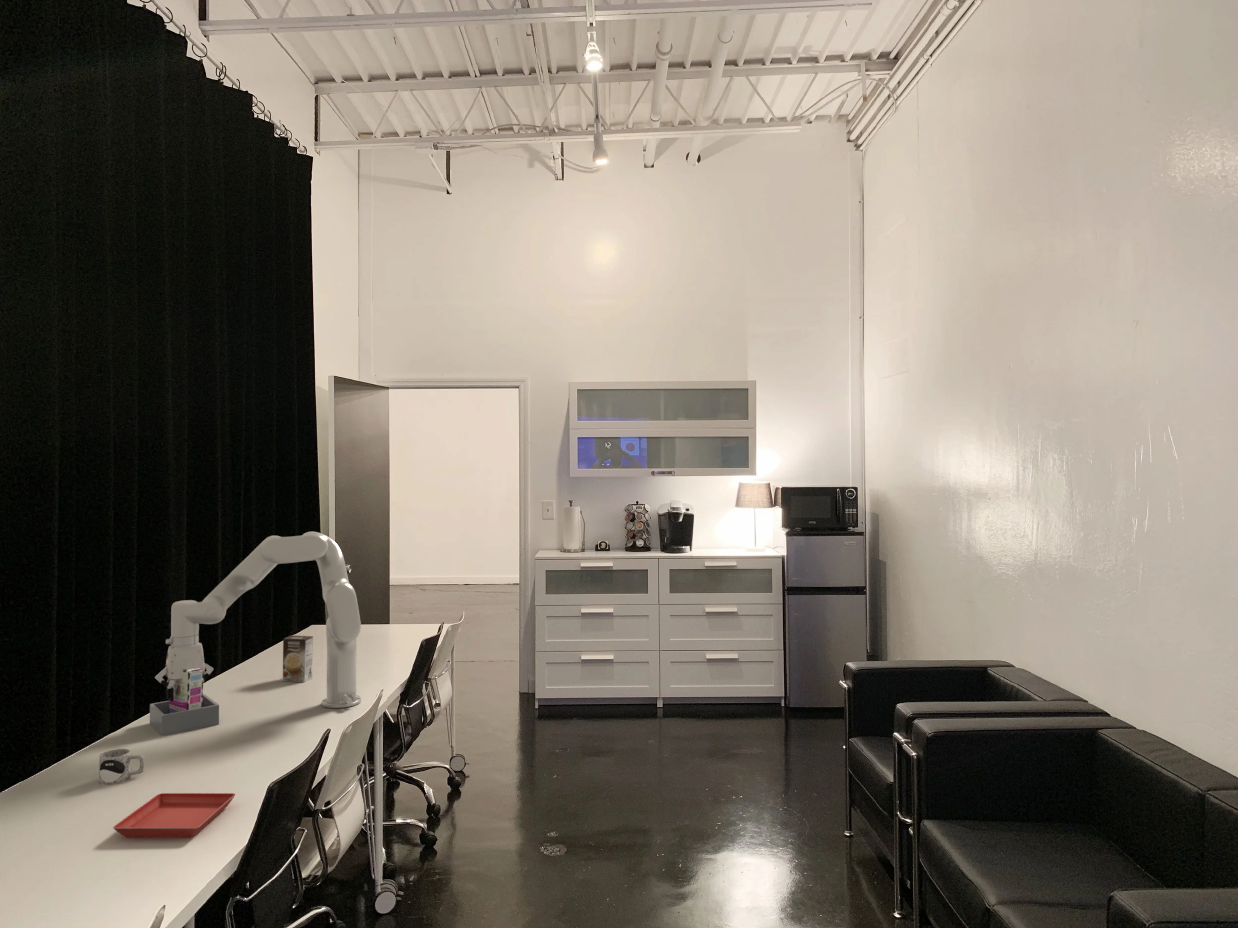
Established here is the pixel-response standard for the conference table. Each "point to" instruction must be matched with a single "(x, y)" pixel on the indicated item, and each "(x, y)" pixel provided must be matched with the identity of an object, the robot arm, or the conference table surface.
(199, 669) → the candy bar box
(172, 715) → the bin
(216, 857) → the conference table surface
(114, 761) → the mug
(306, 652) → the coffee box
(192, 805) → the plant saucer
